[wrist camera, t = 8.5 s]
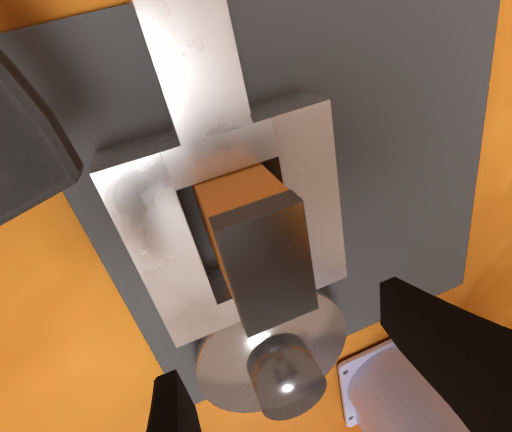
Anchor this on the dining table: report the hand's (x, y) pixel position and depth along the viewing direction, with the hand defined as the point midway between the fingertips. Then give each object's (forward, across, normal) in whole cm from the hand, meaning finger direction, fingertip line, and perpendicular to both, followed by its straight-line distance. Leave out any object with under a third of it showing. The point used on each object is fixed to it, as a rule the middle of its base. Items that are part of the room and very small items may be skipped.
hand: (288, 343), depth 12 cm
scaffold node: (+9, -1, +1) cm, 9 cm away
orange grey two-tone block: (+9, 0, -1) cm, 9 cm away
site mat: (+9, -6, +1) cm, 11 cm away
